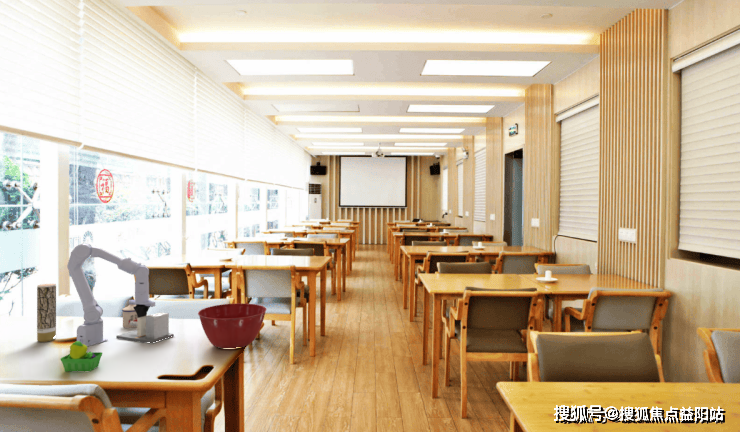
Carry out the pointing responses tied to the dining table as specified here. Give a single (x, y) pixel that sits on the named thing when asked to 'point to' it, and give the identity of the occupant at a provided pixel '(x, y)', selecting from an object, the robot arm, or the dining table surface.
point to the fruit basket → (80, 358)
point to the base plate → (139, 337)
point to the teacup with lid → (129, 316)
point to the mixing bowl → (232, 324)
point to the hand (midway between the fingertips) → (141, 320)
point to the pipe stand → (156, 325)
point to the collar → (141, 326)
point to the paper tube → (46, 312)
